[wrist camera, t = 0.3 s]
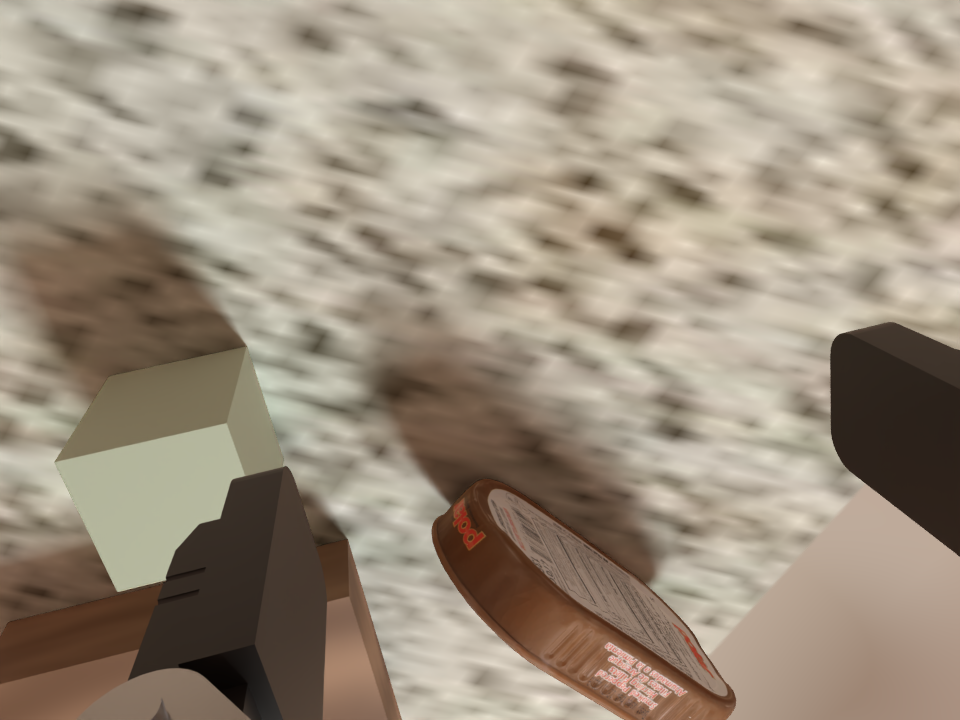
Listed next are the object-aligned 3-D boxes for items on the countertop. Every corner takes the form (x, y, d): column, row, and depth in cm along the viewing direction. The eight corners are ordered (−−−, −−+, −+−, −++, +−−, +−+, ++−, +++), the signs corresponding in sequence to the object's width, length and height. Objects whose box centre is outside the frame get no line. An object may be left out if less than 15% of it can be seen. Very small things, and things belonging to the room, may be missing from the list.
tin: (415, 487, 31) (442, 633, 24) (466, 435, 31) (510, 568, 23) (642, 639, 37) (720, 794, 30) (687, 597, 37) (779, 745, 29)
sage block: (109, 375, 27) (54, 462, 22) (247, 345, 28) (226, 423, 22) (156, 487, 29) (117, 592, 24) (283, 458, 30) (273, 554, 24)
